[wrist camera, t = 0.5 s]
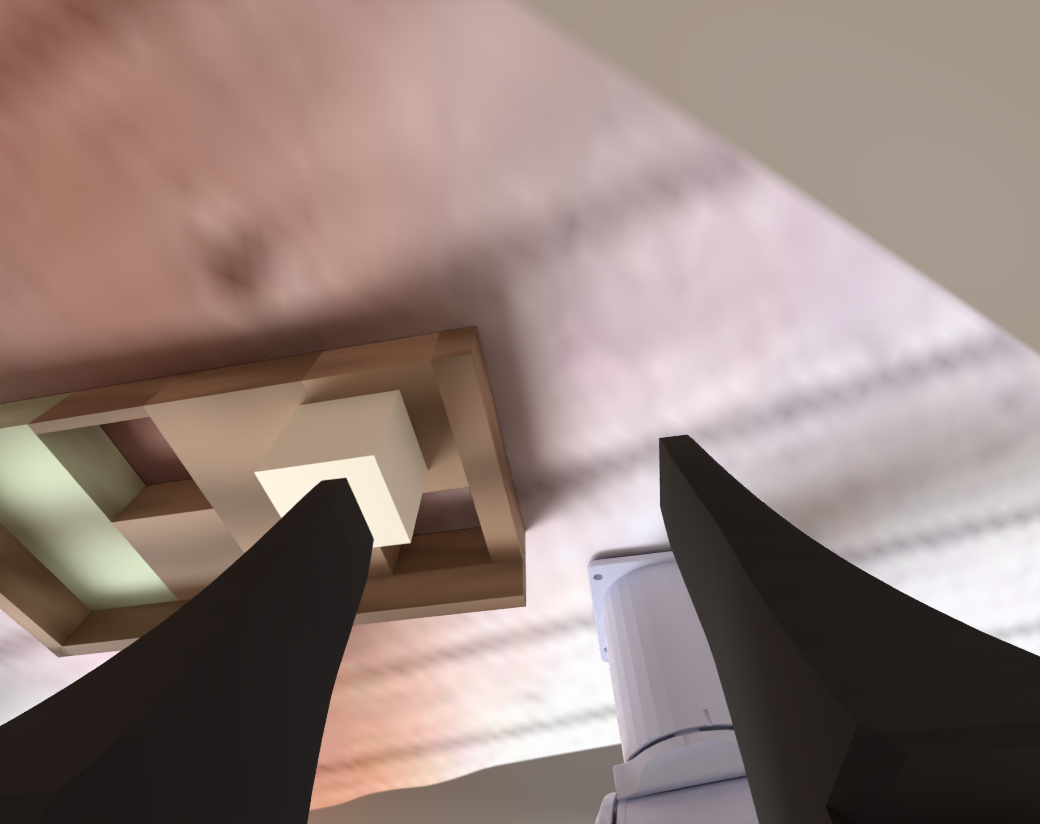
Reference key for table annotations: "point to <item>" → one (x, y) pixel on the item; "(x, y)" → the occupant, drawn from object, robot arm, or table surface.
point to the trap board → (239, 491)
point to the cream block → (352, 460)
